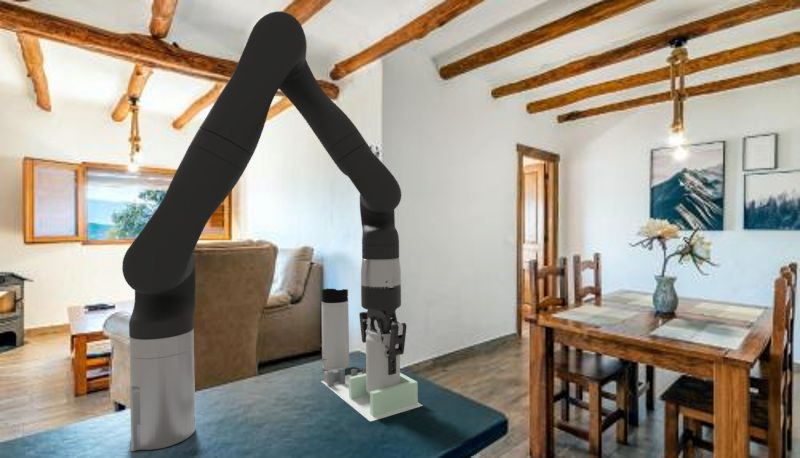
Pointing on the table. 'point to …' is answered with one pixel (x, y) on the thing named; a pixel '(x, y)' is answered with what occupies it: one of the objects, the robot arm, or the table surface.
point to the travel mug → (335, 329)
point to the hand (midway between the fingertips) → (382, 371)
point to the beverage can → (379, 363)
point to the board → (362, 405)
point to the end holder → (385, 394)
